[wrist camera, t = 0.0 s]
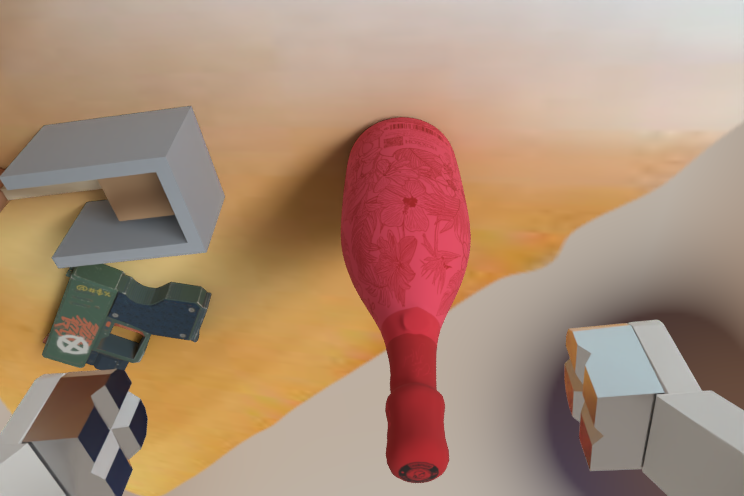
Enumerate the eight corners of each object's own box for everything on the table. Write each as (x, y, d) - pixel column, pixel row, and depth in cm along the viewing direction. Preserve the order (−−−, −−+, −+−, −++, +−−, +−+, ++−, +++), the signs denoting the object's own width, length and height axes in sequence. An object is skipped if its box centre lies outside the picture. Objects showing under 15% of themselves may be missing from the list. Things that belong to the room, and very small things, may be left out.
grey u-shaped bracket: (43, 125, 51) (-2, 177, 45) (191, 105, 50) (165, 156, 44) (92, 212, 57) (58, 268, 51) (225, 196, 56) (206, 252, 50)
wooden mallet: (-29, 159, 53) (-61, 192, 49) (169, 134, 52) (152, 166, 48) (1, 204, 57) (-27, 238, 53) (188, 181, 55) (174, 215, 51)
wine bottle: (338, 196, 56) (312, 511, 33) (355, 100, 50) (336, 408, 27) (440, 211, 57) (482, 526, 34) (469, 120, 51) (545, 431, 28)
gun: (174, 372, 74) (47, 332, 69) (223, 290, 65) (82, 238, 60) (167, 394, 72) (36, 354, 67) (218, 313, 63) (70, 260, 57)
